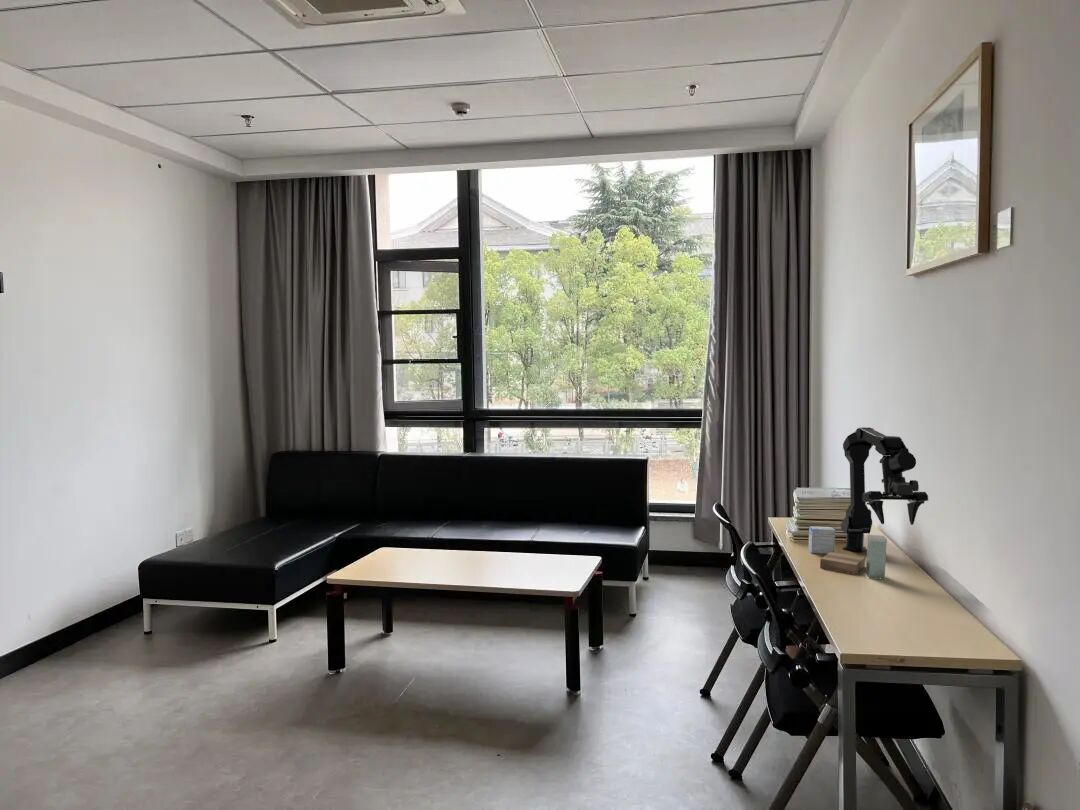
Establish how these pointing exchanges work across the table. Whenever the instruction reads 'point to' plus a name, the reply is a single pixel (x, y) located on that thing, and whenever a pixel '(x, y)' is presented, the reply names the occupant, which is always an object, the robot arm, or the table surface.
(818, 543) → the medicine box
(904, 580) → the table surface
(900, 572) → the table surface
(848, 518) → the robot arm
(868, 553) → the tea tin
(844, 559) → the plinth
